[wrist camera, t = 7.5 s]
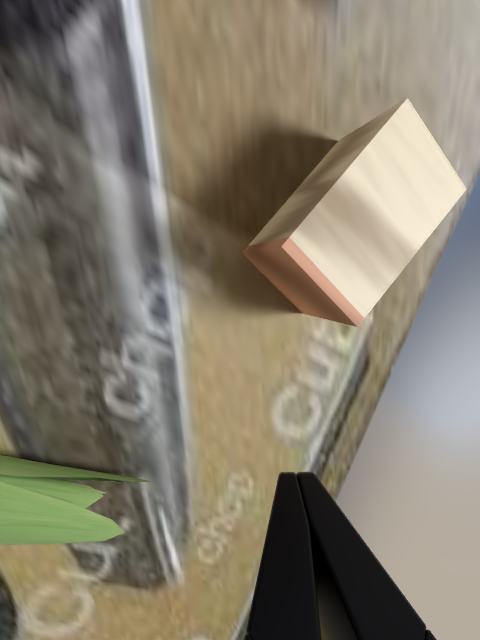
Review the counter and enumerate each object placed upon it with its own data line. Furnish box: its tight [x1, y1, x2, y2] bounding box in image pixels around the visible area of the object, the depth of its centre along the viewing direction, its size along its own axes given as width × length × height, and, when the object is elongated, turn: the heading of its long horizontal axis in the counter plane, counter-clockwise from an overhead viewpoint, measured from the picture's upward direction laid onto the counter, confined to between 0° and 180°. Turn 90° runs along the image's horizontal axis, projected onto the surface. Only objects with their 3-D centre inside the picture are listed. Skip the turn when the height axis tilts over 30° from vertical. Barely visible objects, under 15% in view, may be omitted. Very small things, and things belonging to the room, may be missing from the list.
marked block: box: [242, 98, 466, 327], centre depth 20 cm, size 6×6×10 cm
